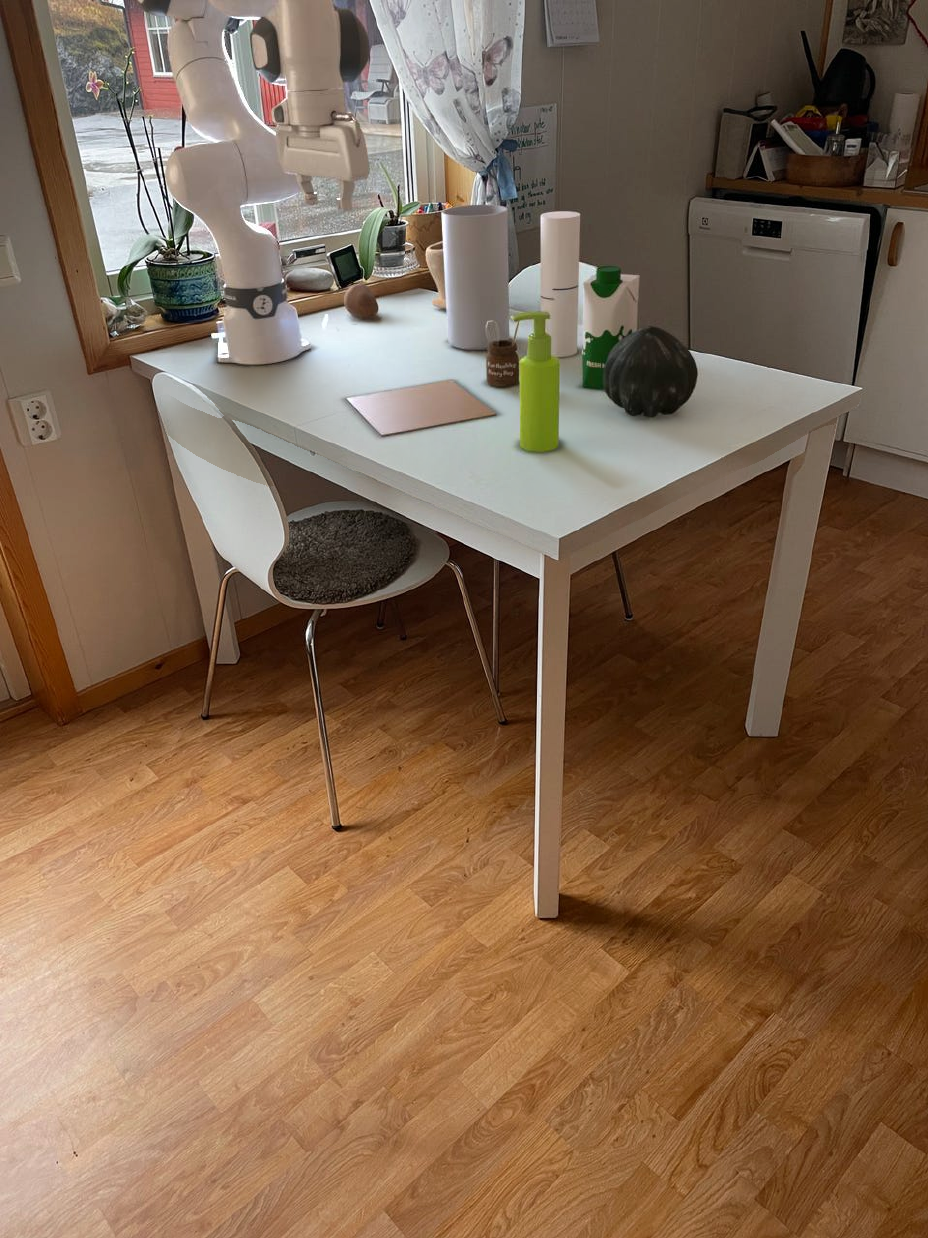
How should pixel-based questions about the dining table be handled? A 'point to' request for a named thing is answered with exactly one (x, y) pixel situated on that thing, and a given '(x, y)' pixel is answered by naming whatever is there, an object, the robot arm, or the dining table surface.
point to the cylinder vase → (476, 274)
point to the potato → (360, 301)
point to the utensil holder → (502, 361)
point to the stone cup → (437, 271)
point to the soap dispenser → (538, 388)
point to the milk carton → (606, 318)
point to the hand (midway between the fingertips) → (328, 207)
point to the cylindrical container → (560, 279)
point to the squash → (650, 373)
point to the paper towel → (419, 407)
